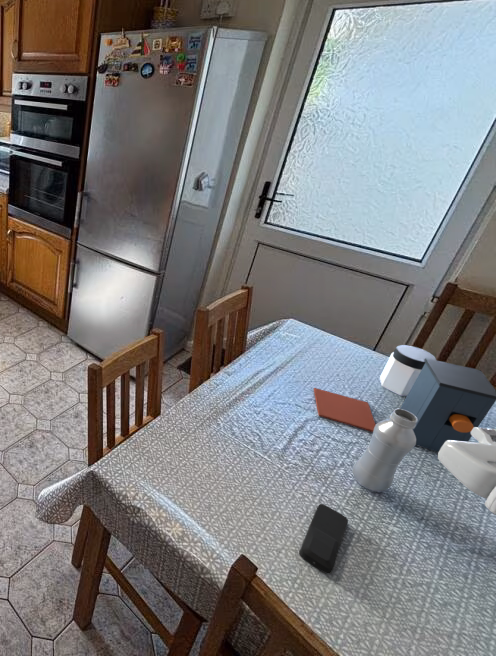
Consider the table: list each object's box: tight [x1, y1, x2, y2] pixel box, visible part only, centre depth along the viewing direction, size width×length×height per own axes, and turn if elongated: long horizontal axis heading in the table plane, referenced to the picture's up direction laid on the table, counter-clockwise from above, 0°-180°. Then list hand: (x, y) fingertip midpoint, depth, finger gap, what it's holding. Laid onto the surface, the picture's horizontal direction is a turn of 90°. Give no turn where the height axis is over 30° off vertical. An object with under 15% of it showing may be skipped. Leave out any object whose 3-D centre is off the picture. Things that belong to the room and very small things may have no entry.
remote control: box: [298, 503, 349, 575], centre depth 80 cm, size 5×2×15 cm
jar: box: [379, 344, 437, 397], centre depth 116 cm, size 9×8×12 cm
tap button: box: [449, 414, 474, 433], centre depth 94 cm, size 3×2×3 cm
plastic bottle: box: [351, 408, 418, 493], centre depth 87 cm, size 6×7×20 cm
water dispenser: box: [399, 358, 496, 453], centre depth 99 cm, size 10×11×19 cm
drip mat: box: [313, 387, 377, 433], centre depth 111 cm, size 12×12×1 cm
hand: (481, 430), depth 69 cm, fingers closed
